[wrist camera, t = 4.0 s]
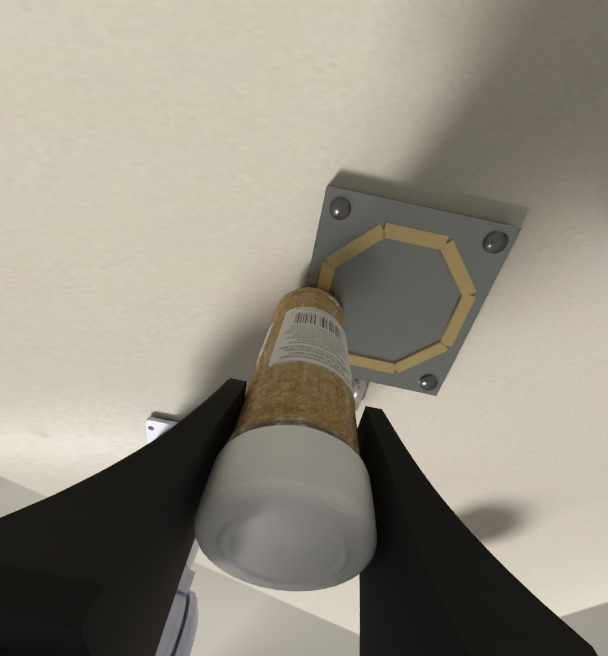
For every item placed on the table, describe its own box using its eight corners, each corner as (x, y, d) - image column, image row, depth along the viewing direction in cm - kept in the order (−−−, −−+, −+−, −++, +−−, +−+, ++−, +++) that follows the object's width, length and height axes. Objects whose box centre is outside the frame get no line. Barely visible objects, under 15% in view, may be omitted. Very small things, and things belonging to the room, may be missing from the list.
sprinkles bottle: (261, 322, 19) (155, 552, 7) (304, 269, 18) (256, 458, 6) (315, 360, 20) (300, 617, 8) (360, 314, 19) (423, 554, 7)
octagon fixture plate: (417, 416, 24) (421, 427, 23) (285, 388, 24) (282, 397, 23) (511, 225, 17) (523, 228, 16) (327, 185, 17) (326, 185, 16)
